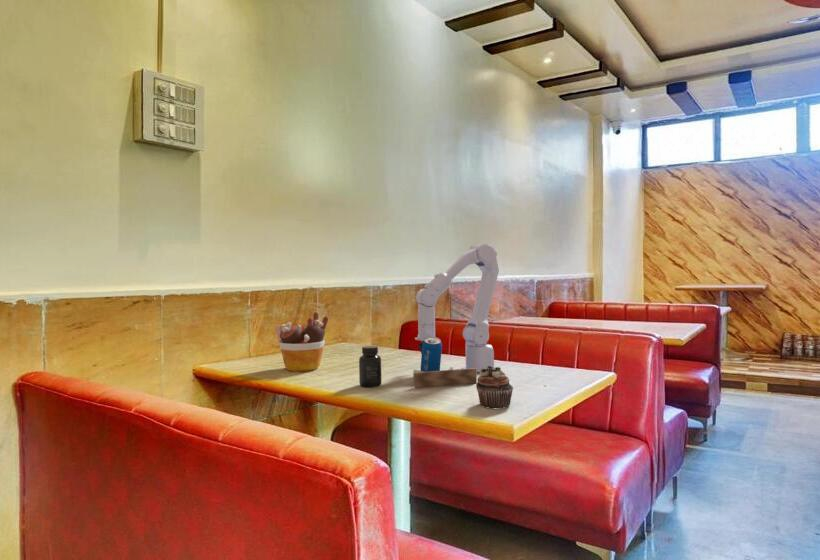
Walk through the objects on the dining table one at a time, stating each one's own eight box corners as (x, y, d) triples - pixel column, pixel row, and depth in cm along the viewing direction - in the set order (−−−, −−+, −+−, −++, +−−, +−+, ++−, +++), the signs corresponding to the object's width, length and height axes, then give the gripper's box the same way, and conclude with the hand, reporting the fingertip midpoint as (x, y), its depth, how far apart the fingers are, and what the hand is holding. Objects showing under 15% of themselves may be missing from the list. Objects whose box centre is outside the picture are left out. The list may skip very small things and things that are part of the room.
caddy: (461, 375, 183) (460, 361, 182) (476, 383, 170) (476, 368, 170) (403, 379, 177) (403, 365, 177) (415, 388, 165) (415, 373, 165)
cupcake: (509, 411, 138) (509, 371, 138) (472, 407, 142) (471, 369, 141) (516, 401, 147) (516, 365, 147) (481, 399, 151) (480, 363, 150)
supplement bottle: (359, 383, 173) (359, 345, 172) (381, 382, 173) (380, 345, 173) (359, 388, 166) (358, 349, 165) (381, 387, 166) (381, 348, 166)
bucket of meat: (303, 375, 185) (302, 317, 185) (266, 371, 193) (265, 315, 192) (338, 365, 203) (337, 312, 202) (303, 362, 211) (302, 311, 210)
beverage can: (416, 374, 181) (419, 340, 178) (425, 366, 187) (428, 334, 183) (434, 379, 178) (436, 346, 175) (442, 372, 184) (445, 339, 180)
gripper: (409, 322, 191) (409, 361, 191) (421, 327, 177) (422, 368, 177) (428, 321, 193) (428, 359, 193) (442, 326, 179) (442, 367, 179)
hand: (427, 364), depth 185 cm, fingers closed
